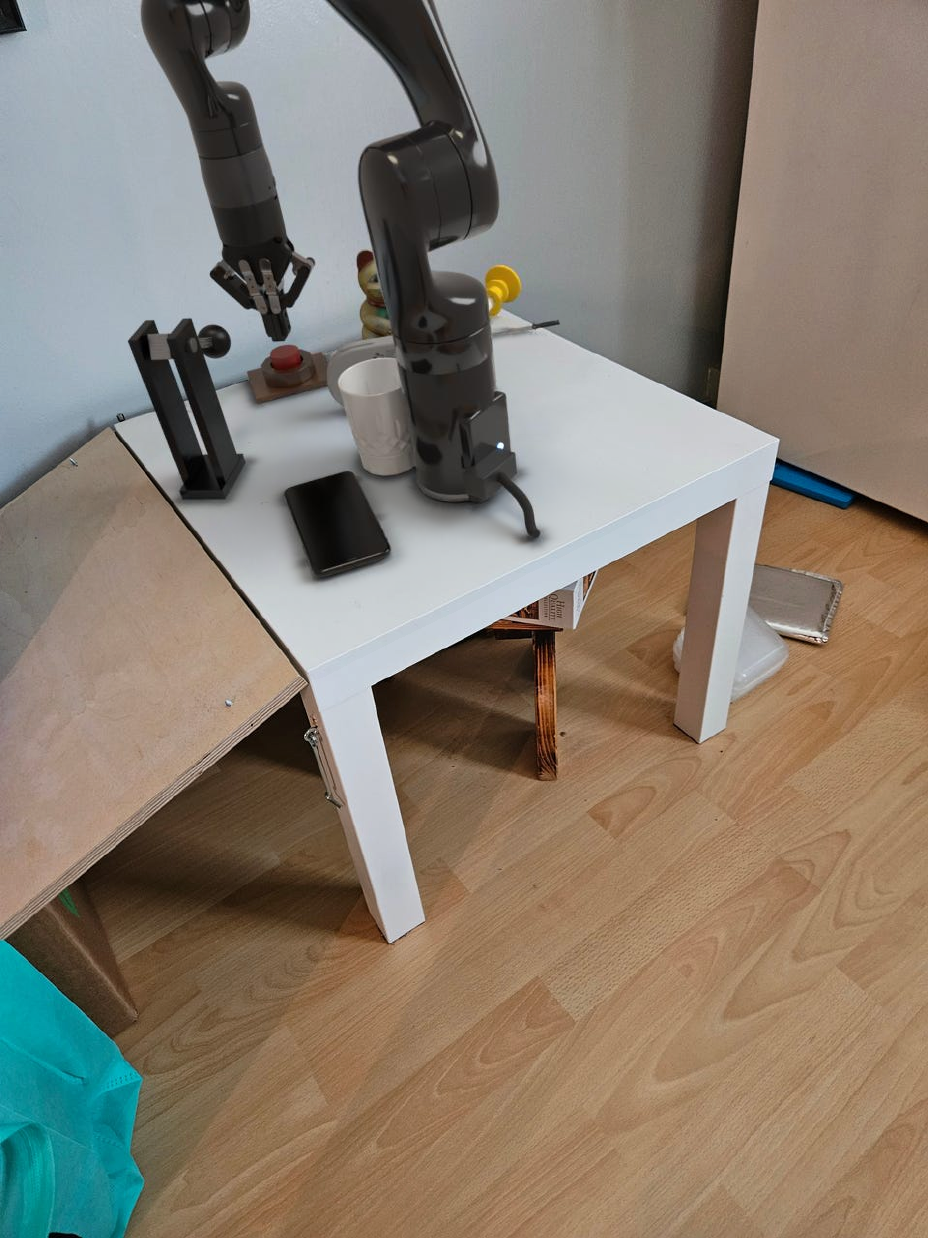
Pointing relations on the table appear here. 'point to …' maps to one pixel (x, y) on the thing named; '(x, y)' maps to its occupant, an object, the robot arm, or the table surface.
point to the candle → (501, 287)
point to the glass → (377, 415)
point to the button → (285, 357)
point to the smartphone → (336, 524)
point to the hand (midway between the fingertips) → (281, 338)
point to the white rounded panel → (356, 359)
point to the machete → (529, 327)
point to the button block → (288, 377)
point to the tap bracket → (196, 469)
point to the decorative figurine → (371, 299)
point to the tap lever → (210, 338)
